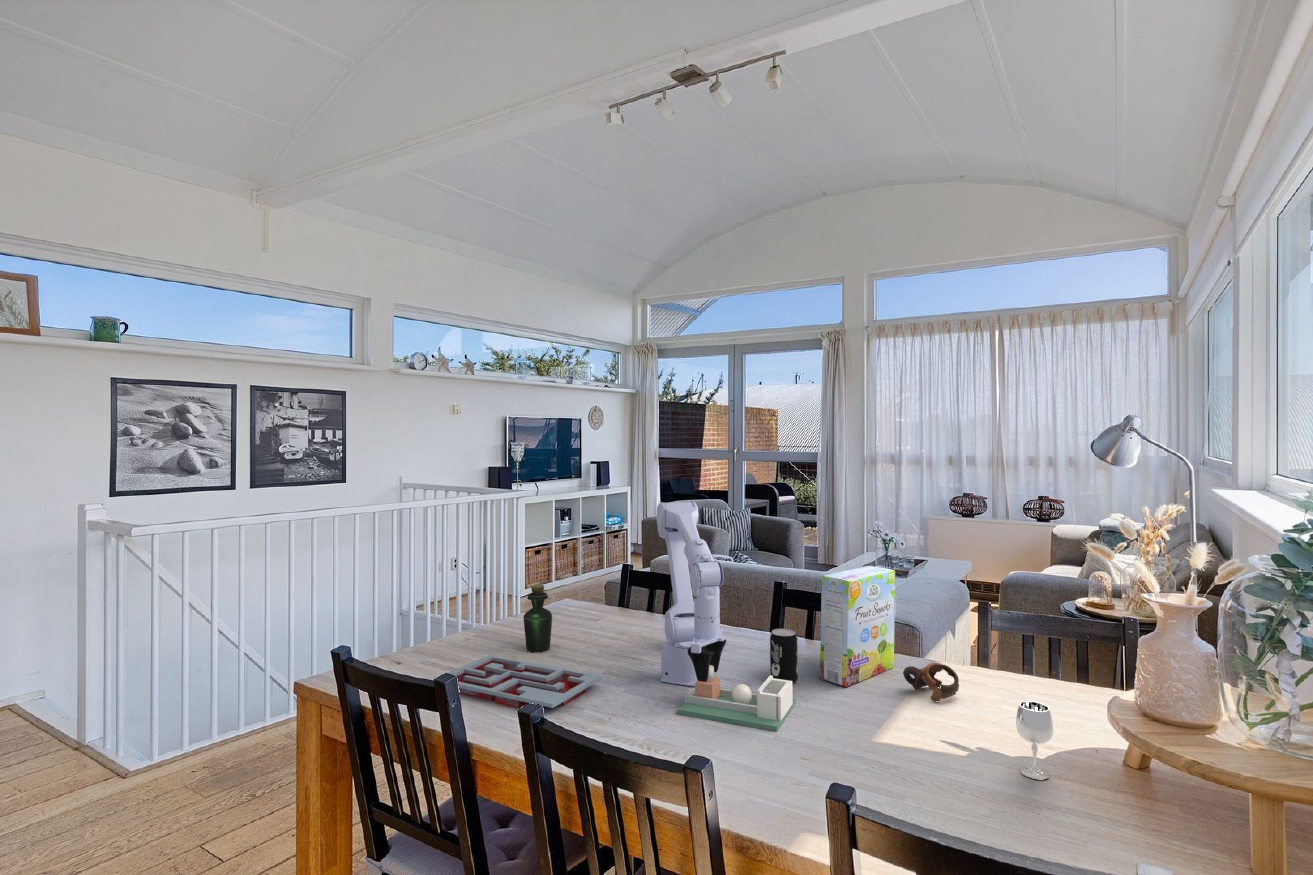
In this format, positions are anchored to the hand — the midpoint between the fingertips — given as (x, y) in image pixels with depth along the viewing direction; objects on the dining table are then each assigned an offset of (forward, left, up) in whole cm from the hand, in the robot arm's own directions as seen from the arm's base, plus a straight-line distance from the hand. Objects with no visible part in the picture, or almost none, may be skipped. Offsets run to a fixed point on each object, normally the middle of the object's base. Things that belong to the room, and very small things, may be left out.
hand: (707, 676), depth 155 cm
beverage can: (+12, +21, -6) cm, 25 cm away
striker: (0, 0, -5) cm, 5 cm away
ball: (+8, 0, -3) cm, 9 cm away
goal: (+15, 0, -6) cm, 17 cm away
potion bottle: (-58, +18, -6) cm, 61 cm away
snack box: (+28, +33, -6) cm, 44 cm away
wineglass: (+64, -7, -6) cm, 65 cm away
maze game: (-45, -9, -7) cm, 46 cm away
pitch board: (+7, 0, -6) cm, 9 cm away
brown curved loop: (+45, +26, -6) cm, 52 cm away
